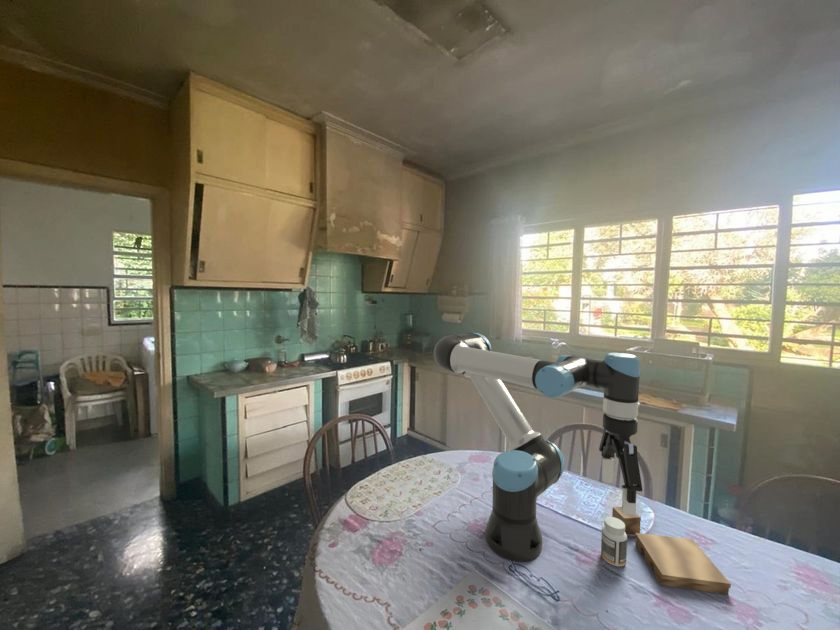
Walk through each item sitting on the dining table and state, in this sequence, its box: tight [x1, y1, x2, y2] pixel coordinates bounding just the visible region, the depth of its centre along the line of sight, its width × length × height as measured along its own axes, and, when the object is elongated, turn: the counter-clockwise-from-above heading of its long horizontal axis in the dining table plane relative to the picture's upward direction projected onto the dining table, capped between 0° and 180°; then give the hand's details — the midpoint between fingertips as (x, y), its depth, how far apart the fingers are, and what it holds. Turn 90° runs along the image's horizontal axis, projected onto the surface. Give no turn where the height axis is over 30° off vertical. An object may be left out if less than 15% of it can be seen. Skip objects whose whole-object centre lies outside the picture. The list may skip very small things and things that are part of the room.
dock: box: [634, 532, 732, 595], centre depth 85 cm, size 14×14×3 cm
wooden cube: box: [611, 506, 642, 536], centre depth 99 cm, size 5×5×5 cm
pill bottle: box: [600, 516, 628, 567], centre depth 87 cm, size 6×6×10 cm
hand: (617, 496), depth 86 cm, fingers open, 13 cm apart
